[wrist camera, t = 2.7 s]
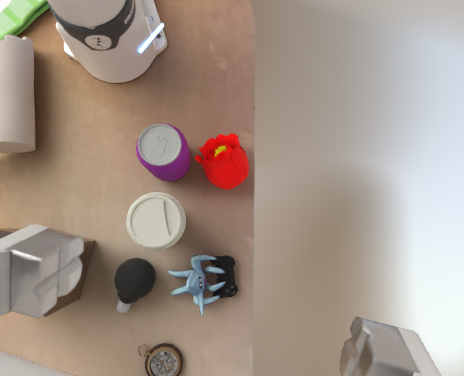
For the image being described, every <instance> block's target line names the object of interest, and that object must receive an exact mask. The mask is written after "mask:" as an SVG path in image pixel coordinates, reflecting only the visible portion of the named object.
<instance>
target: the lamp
mask: <svg viewBox="0 0 464 376" xmlns="http://www.w3.org/2000/svg"><path fill="white" fill-rule="evenodd" d="M18 230H20V229H0V239H1V238H3V237H5V236H7V235H10V234H12V233H14V232H16V231H18ZM82 239H83V240H84V252H83V253H82V254H81V255H79V258H80V260H81V262H82V264H83V267H82V274H81V277H80V280H79V281H78V283H77V285H76V286H75V288H74V289H73V290H72V291H71V292H70V293H68V294H67V295H64V296H60V297H57V304H56V305H55V306H54V307H52V308H51V309H50V310H49V311H48V312H47V313H45V314H44V315H43V316H45V317H46V316H48V315H50V314H52V313H54V312H56V311H58V310H59V309H61V308H63V307H65V306H67V305H69V304H71V303H73V302H74V301H76V300H78V299H80V295H81V292H82V288H83V284H84V280H85V276H86V273H87V269H88V265H89V261H90V258H91V254H92V250H93V246H94V243H95V240H90V239H85V238H82Z"/></svg>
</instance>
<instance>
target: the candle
mask: <svg viewBox="0 0 464 376" xmlns="http://www.w3.org/2000/svg"><path fill="white" fill-rule="evenodd" d="M34 150H35V108H34V48H33V43H32V41H31V40H30V39H29V38H28V37H25V36H24V37H22V39H21V38H19V37H16V36H13V35H8V34H7V35H5V37H4V40H0V153H25V152H31V151H34Z"/></svg>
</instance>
